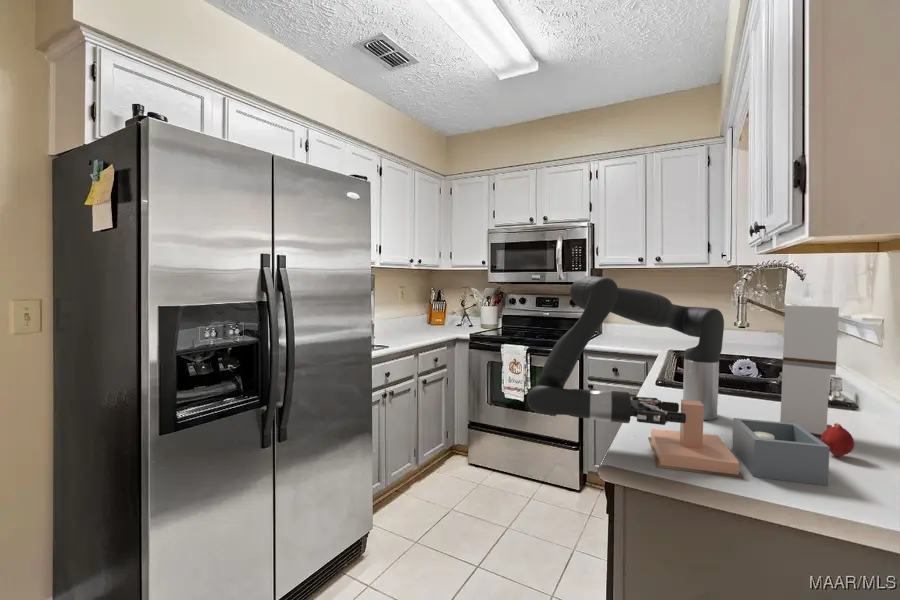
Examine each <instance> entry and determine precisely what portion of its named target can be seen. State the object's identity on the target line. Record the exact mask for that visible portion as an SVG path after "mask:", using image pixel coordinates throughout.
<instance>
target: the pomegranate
mask: <svg viewBox="0 0 900 600" xmlns="http://www.w3.org/2000/svg"><path fill="white" fill-rule="evenodd" d="M833 425H834V426H832V427H830V428H828V429H827V430H825V431H824V432H823V434H822V436H821V440H822V442H823V443H825V444H826V445H827V446H829V447H830V450H829V453H830V454H832V455H833V456H834V457H838V458H839V457H842V456H846V455H848V454H850V453H851V452H852V451H853V450H854V448H855V440H854V437H853V436H852V434H851V433H850V432H849V431H848V430H847V429H845V428H844V426H842V425H841V424H840V423H837V422H836V423H833Z"/></svg>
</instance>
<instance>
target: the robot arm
mask: <svg viewBox="0 0 900 600" xmlns="http://www.w3.org/2000/svg"><path fill="white" fill-rule="evenodd" d="M569 294H570V297H571V300H572V301H573V303H574V304H575V305H576V307H579V308H581V309H583V312H582V313H581V316H580V317H579V319H578V320H577V321H576V322H575V323H574V325H573V326H572V327H571V328H570V329H569V330H568V331H566V333H564V334H563V335H562V336H561V337H560V338H559V339H558V340H557V341H556V342H555V344H554V345H553V347H552V348H551V350H550V353H549V355H548V357H547V359H546V361H545V363H544V365H543V368H542V373H541V375H540V377H539V380H537V383H536V385H535V386H534V387H532V388H530V390H529V391H528V393H527V395H526V401H527V405H528V407H529V408H530V409H531V410H532V411H533V412H534V413H536V414H542V415H555V416H556V415H559V416H560V415H561V416H562V415H563V416H564V415H565V416H569V417H573V418H581V419H590V420H594V421H600V422H611V423H621V424H629V423H630V422H631V417H633V418H636V422H637V423H645V424H652V425H660V426H665V425H666V424H667V423H678V424H679V423H685V422H686V415H685V413H681V411H680V404H679V403H678V402H671V401H662V400H660V399H659V398H657V397H647V396H646V397H645V396H634V395H633V396H631V394H630V392H628V391H618V390H607V389H606V390H605V389H591V390H590V389H582V388H581V389H580V388H565V385H566V383H567V381H568V380H569V378H570V376H571V374H572V373H573V370H574V368H575V367H576V365H577V362H578V360H579V358H580V357H581V354H583V351H584V349H585V348H586V346H587V345H588V344H589V342H590V341H591V339H592V338H593V336H594V335H595V334H596V332H597V331H598V330H599V328H600V327H601V325H602V323H604V321H605V319H607V317H608V316H609V314H610V313H611V314H614V315H616V316H619V317H620V318H624V319H627V320H630V321H632V322H636V323H640V324H641V325H642V324H643V325H647V326H651V327H657V328H669V329H672V330H674V331H676V332H679V333H681V334H683V335H687V336H689V337H694V338H698V339H699V341H698V344H697V345H696V346H693V347H689V348H686V349H685V350H684V355H683V356H684V357H683V384H682V385H683V387H682V389H683V391H682V393H683V394H682V400H693V401H700V402H701V403H702V404H703V405H704V416H703V421H712V420H716V419H717V418H718V404H719V403H718V402H719V401H718V400H719V378H720V377H719V375H720V374H719V373H720V368H719V367H720V356H721V353H722V349H723V341H724V331H725V329H724V328H725V320H724V315H723V313H722V311H720V309H718V308H714V307H702V306H701V307H699V306H684V305H679V304H675V303H672V301H671V300H670V299H669V298H667V297H666V296H663V295H661V294H658V293H653V292H650V291H646V290H641V289H634V288H625V287H618V284H617V283H616V282H615V281H614V279H611V278H609V277H606V276H596V275H595V276H593V275H586V276H582V277H579V278H577V279H576V280H574V282H573V283H572V284H571V287H570V291H569ZM631 397H632V400H631Z"/></svg>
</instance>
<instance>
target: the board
mask: <svg viewBox="0 0 900 600" xmlns="http://www.w3.org/2000/svg"><path fill="white" fill-rule="evenodd" d="M647 439H648V442H649V446H650V449H651V451H652V453H654V454H653V457H654V459H655V462H656V466H657V468H659V469H660V468H662V469H666V470H667V469H668V470H676V471H682V472H691V473H692V472H693V473H697V474H698V473H700V474H707V475H708V474H709V475H715V476H721V477H731V478H739V479H744V475H743V473H741V471H740V470H739V475H736V474H728V473H720V472H712V471H704V470H697V469H689V468H681V467H673V466H665V465H660V462H659V460H658V457H657V454H656V451H655V448H654V445H653V442H652V439H651V436H648V437H647Z"/></svg>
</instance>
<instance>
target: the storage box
mask: <svg viewBox="0 0 900 600" xmlns="http://www.w3.org/2000/svg"><path fill="white" fill-rule="evenodd" d="M732 419H733V420H732V443H731V445H732V447H731V451H732V452H733V453H734V454H735V456H737V458H738V460H740V462H741V464H743V466H745V468H746V469H747V471H748V472H749V473H750V474H751V475H752V477H756V478H764V479H773V480H781V481H787V482H793V483H795V482H796V483H804V484H811V485H812V484H813V485H819V486H820V485H821V486H828V485H829V471H830V470H829V466H830V451H829V450H830V447H829V446H827V445H826V444H825V443H823V442H822V441H820V440H819V439H818V438H816V437H815V436H813V435H812V434H811V433H809V432H808V431H806V430H805V429H804V428H802V427H801V426H800V425H798V424H796V423H784V422H780V421H772V420H771V421H770V420H759V419H749V418H740V417H738V418H737V417H733V418H732Z"/></svg>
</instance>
